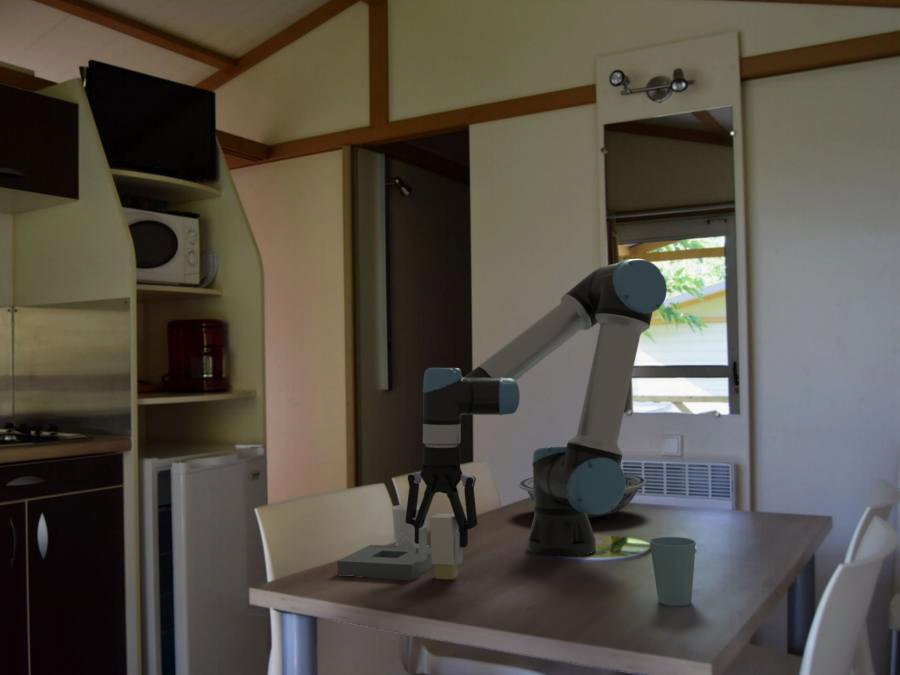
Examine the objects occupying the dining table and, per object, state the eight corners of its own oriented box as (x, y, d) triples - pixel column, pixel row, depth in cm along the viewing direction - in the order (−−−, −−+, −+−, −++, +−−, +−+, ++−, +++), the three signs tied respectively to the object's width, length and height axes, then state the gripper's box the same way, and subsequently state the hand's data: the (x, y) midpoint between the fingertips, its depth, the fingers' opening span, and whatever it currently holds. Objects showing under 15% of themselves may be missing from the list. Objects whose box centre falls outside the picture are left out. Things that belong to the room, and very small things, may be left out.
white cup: (423, 555, 190) (422, 510, 190) (389, 554, 191) (388, 509, 191) (431, 548, 197) (430, 504, 198) (398, 547, 199) (397, 504, 199)
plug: (461, 574, 171) (458, 514, 171) (454, 580, 166) (451, 517, 167) (440, 573, 172) (437, 513, 173) (432, 579, 168) (429, 517, 168)
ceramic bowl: (493, 517, 235) (492, 481, 235) (573, 502, 258) (572, 468, 258) (594, 533, 210) (592, 492, 210) (672, 514, 233) (671, 477, 233)
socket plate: (439, 562, 182) (438, 544, 183) (412, 580, 167) (411, 560, 167) (370, 558, 188) (369, 541, 188) (337, 576, 172) (337, 557, 173)
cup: (642, 602, 148) (640, 541, 148) (668, 593, 153) (667, 534, 153) (679, 610, 142) (678, 547, 143) (706, 602, 147) (704, 540, 148)
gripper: (494, 445, 171) (494, 561, 170) (402, 441, 177) (401, 553, 176) (484, 449, 163) (483, 570, 163) (388, 445, 170) (387, 561, 169)
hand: (440, 561), depth 170 cm, fingers open, 7 cm apart
